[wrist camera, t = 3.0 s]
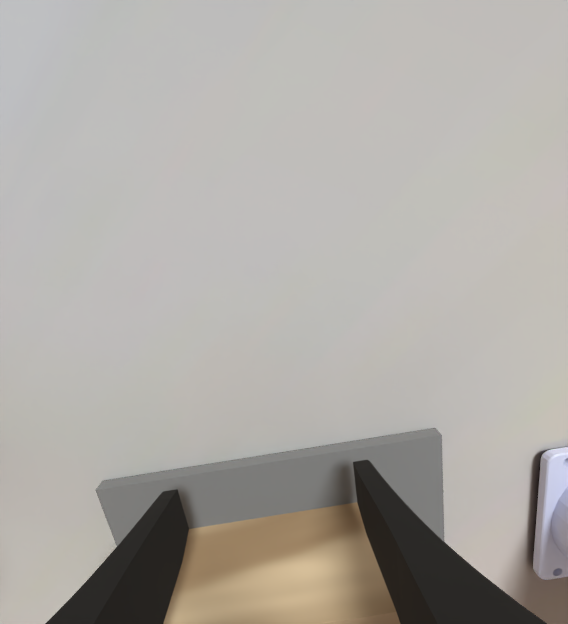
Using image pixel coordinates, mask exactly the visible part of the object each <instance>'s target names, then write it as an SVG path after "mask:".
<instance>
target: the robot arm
mask: <svg viewBox="0 0 568 624" xmlns="http://www.w3.org/2000/svg"><path fill="white" fill-rule="evenodd" d="M353 468H354V477H355V486H356V495H357V503H358V507H359V510H360V514H361V517H362V521H363V524H364V528H365V531H366V534H367V537H368V539H369V542H370V545H371V547H372V550H373V552H374V555H375V558H376V560H377V563H378V565H379V568H380V571H381V573H382V576H383V578H384V581H385V584H386V586H387V589H388V591H389V594H390V596H391V599H392V602H393V604H394V607H395V609H396V612H397V615H398V618H399V621H400V624H547V623H545V622H544V621H543V620H541V619H540V618H538V617H537V616H536V615H534V614H533V613H531V612H530V611H529V610H527V609H526V608H525V607H523V606H522V605H520V604H519V603H518V602H517V601H515V600H514V599H513V598H511V597H510V596H509V595H508V594H506V593H505V592H504V591H502V590H501V589H500V588H499V587H497V586H496V585H495V584H493V583H492V582H491V581H490V580H488V579H487V578H486V577H484V576H483V575H482V574H481V573H480V572H478V571H477V570H476V569H475V568H474V567H472V566H471V565H470V564H469V563H468V562H466V561H465V560H464V559H463V558H462V557H461V556H459V555H458V554H457V553H456V552H455V551H454V550H453V549H452V548H450V547H449V546H448V545H447V544H446V543H445V542H444V541H443V540H442V539H441V538H440V537H438V536H437V535H436V534H435V533H434V532H433V531H432V530H431V529H430V528H429V527H428V526H427V525H426V524H425V523H424V522H423V521H422V520H421V519H420V518H419V517H418V516H417V515H416V514H415V513H414V512H413V511H412V510H411V509H410V508H409V506H408V505H407V504H406V503H405V502H404V501H403V500H402V499H401V498H400V497H399V496H398V495H397V493H396V492H395V491H394V490H393V489H392V488H391V487H390V485H389V484H388V483H387V482H386V481H385V479H384V478H383V477H382V476H381V475H380V473H379V472H378V471H377V469H376V468H375V467H374V466H373V464H372V463H371V462H370V461H369V460H361V461H355V462H353ZM188 532H189V527H188V523H187V520H186V517H185V513H184V510H183V506H182V503H181V499H180V496H179V493H178V489H176V490H169V491H163V492H162V493H161V494H160V495H159V496H158V498H157V499H156V500H155V501H154V503H153V504H152V505H151V506H150V507H149V509H148V510H147V511H146V512H145V514H144V515H143V516H142V517H141V519H140V520H139V521H138V522H137V523H136V525H135V526H134V527H133V528H132V529H131V531H130V532H129V533H128V534H127V536H126V537H125V538H124V539H123V540H122V542H121V543H120V544H119V545H118V546H117V547H116V549H115V550H114V551H113V552H112V553H111V554H110V555H109V557H108V558H107V559H106V560H105V561H104V562H103V563H102V564H101V566H100V567H99V568H98V569H97V570H96V571H95V572H94V574H93V575H92V576H91V577H90V578H89V579H88V580H87V581H86V582H85V584H84V585H83V586H82V587H81V588H80V589H79V590H78V591H77V592H76V593H75V594H74V595H73V596H72V597H71V598H70V599H69V600H68V601H67V602H66V604H65V605H64V606H63V607H62V608H61V609H60V610H59V611H58V612H57V613H56V614H55V615H54V616H53V617H52V618H51V619H50V620H49V621H48V622H47V623H46V624H163V623H164V620H165V616H166V613H167V610H168V607H169V604H170V600H171V597H172V594H173V591H174V588H175V584H176V581H177V578H178V575H179V571H180V568H181V565H182V561H183V556H184V552H185V547H186V542H187V537H188ZM533 570H534V571H535V573H536V574H537V575H538V576H539V577H540V578H541V579H544V580H550V579H556V578H562V577H568V447H563V448H557V449H551V450H548V451H546V452H544V453H543V455H542V457H541V463H540V477H539V490H538V504H537V518H536V531H535V545H534V558H533Z"/></svg>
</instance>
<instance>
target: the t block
mask: <svg viewBox="0 0 568 624" xmlns="http://www.w3.org/2000/svg"><path fill="white" fill-rule="evenodd" d="M163 624H400V621H399V618H398V615H397V612H396V609H395V607H394V604H393V602H392V599H391V596H390V594H389V591H388V589H387V586H386V584H385V581H384V578H383V576H382V573H381V571H380V568H379V565H378V563H377V560H376V558H375V555H374V552H373V550H372V547H371V545H370V542H369V539H368V537H367V534H366V531H365V528H364V524H363V521H362V517H361V514H360V510H359V507H358V503H357V502H356V503H350V504H344V505H337V506H331V507H325V508H318V509H312V510H306V511H300V512H293V513H287V514H281V515H275V516H268V517H262V518H256V519H249V520H243V521H237V522H231V523H224V524H218V525H212V526H205V527H199V528H193V529H189V532H188V537H187V542H186V547H185V552H184V556H183V561H182V565H181V568H180V571H179V575H178V578H177V581H176V584H175V588H174V591H173V594H172V597H171V600H170V604H169V607H168V610H167V613H166V616H165V620H164V623H163Z"/></svg>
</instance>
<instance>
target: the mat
mask: <svg viewBox="0 0 568 624" xmlns="http://www.w3.org/2000/svg"><path fill="white" fill-rule="evenodd" d="M361 460H369V461H370V462H371V463H372V464H373V466H374V467H375V468H376V469H377V471H378V472H379V473H380V475H381V476H382V477H383V478H384V479H385V481H386V482H387V483H388V484H389V485H390V487H391V488H392V489H393V490H394V491H395V492H396V493H397V495H398V496H399V497H400V498H401V499H402V500H403V501H404V502H405V503H406V504H407V505H408V506H409V508H410V509H411V510H412V511H413V512H414V513H415V514H416V515H417V516H418V517H419V518H420V519H421V520H422V521H423V522H424V523H425V524H426V525H427V526H428V527H429V528H430V529H431V530H432V531H433V532H434V533H435V534H436V535H437V536H438V537H440V538H441V539H442V540H443V541H444V512H443V471H442V435H441V434H440V433H439V432H438V431H437V430H436V428H432V429H426V430H420V431H413V432H407V433H401V434H395V435H388V436H382V437H376V438H369V439H363V440H357V441H351V442H344V443H338V444H332V445H325V446H319V447H313V448H307V449H300V450H294V451H288V452H281V453H275V454H269V455H263V456H256V457H250V458H244V459H237V460H231V461H225V462H219V463H212V464H206V465H200V466H193V467H187V468H181V469H175V470H168V471H162V472H156V473H149V474H143V475H137V476H131V477H124V478H118V479H112V480H105V481H102V482H101V484H100V485H99V486H98V488H97V489H96V493H97V495H98V498H99V500H100V503H101V506H102V508H103V511H104V514H105V516H106V519H107V521H108V524H109V527H110V529H111V532H112V535H113V537H114V540H115V542H116V545H117V546H118V545H119V544H120V543H121V542H122V540H123V539H124V538H125V537H126V536H127V534H128V533H129V532H130V531H131V529H132V528H133V527H134V526H135V525H136V523H137V522H138V521H139V520H140V519H141V517H142V516H143V515H144V514H145V512H146V511H147V510H148V509H149V507H150V506H151V505H152V504H153V503H154V501H155V500H156V499H157V498H158V496H159V495H160V494H161V493H162V492H163V491H169V490H176V489H178V493H179V496H180V499H181V503H182V506H183V510H184V513H185V517H186V520H187V523H188V527H189V529H193V528H199V527H205V526H212V525H218V524H224V523H231V522H237V521H243V520H249V519H256V518H262V517H268V516H275V515H281V514H287V513H293V512H300V511H306V510H312V509H318V508H325V507H331V506H337V505H344V504H350V503H356V502H357V495H356V486H355V477H354V468H353V462H355V461H361Z"/></svg>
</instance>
